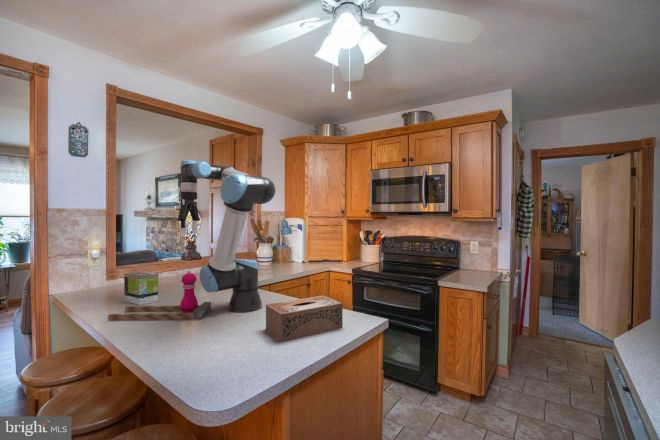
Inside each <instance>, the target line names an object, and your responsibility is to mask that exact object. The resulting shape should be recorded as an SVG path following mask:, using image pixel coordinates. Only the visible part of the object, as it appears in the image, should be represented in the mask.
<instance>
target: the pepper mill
mask: <svg viewBox="0 0 660 440" xmlns="http://www.w3.org/2000/svg"><path fill="white" fill-rule="evenodd" d="M181 282H182V284H183V285H182V288H183V291H184V292H183V296H182V299H181V301H180V304H179V305H180V308H181V309H182V310H183V311H182V312H180V313H194V309H196V308H197V306H198V305H199V301H198V299H197V297H196V295H195V288H196V282H197V276H196V274H195V273H192V270H191V269H188V270H187V271H186V273H185V274H183V276H182V277H181Z"/></svg>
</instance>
